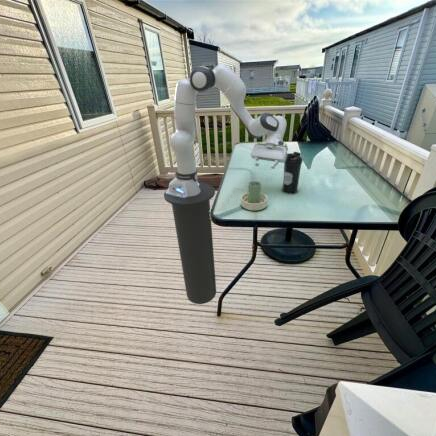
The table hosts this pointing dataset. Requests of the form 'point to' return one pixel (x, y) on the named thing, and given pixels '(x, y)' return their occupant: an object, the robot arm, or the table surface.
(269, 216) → the table surface
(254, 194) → the tumbler
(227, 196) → the table surface
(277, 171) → the table surface
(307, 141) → the table surface
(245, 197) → the bowl
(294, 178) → the water bottle
